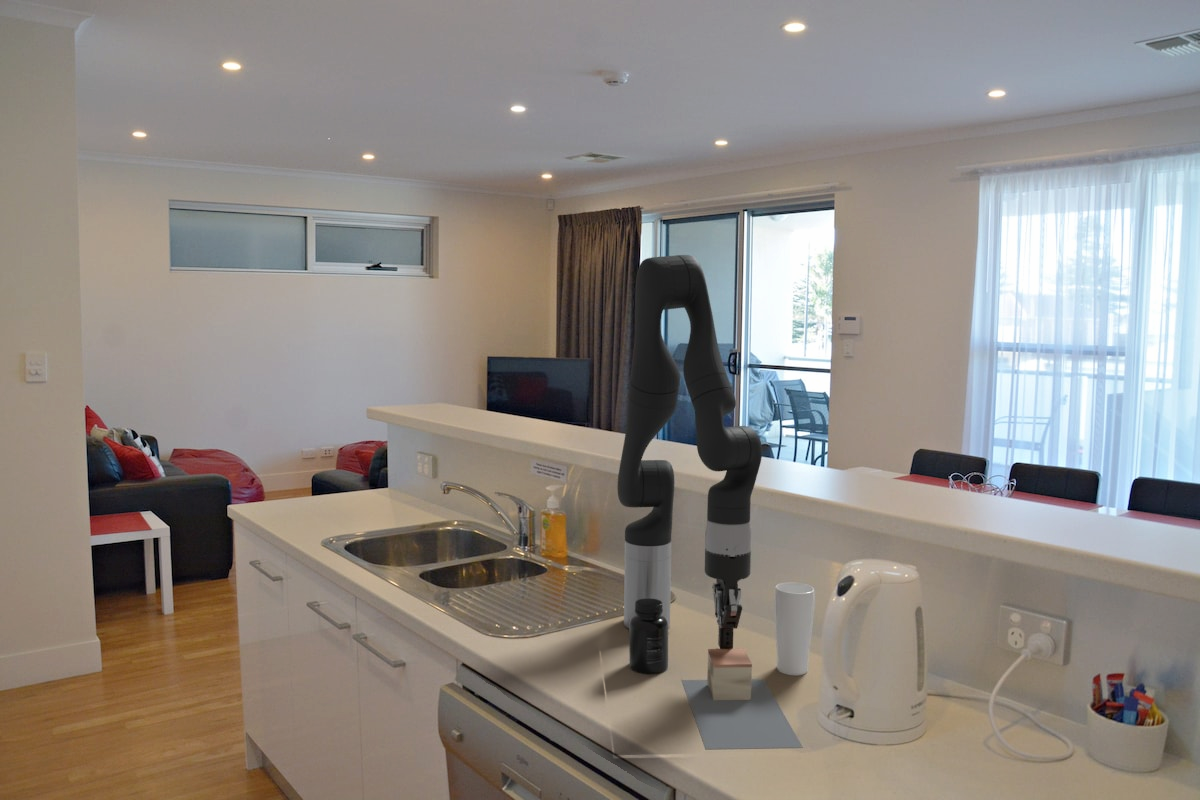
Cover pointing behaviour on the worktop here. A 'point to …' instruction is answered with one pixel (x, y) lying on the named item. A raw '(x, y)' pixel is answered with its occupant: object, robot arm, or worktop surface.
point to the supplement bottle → (648, 638)
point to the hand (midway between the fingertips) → (725, 648)
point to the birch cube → (729, 674)
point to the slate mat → (740, 719)
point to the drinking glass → (793, 626)
